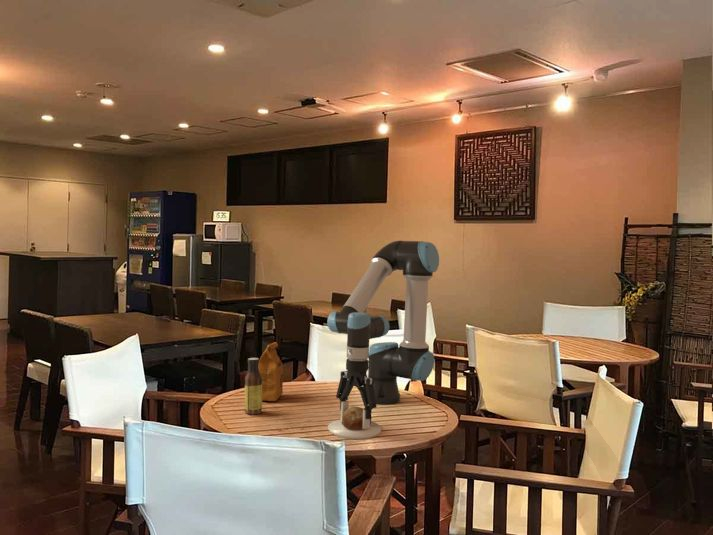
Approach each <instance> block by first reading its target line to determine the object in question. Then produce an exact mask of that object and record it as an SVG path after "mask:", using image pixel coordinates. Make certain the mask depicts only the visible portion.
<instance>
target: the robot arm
mask: <svg viewBox="0 0 713 535" xmlns="http://www.w3.org/2000/svg"><path fill="white" fill-rule="evenodd" d="M439 265H440V254H439V250H438V248H437V247H436V245H435V244H434V243H432V242H430V241H422V240H420V241H419V240H418V241H417V240H395V241H392V242H390V243H387V244H386V245H384V246H383V247H382V248H380V249H379V250H378V251H377V252H376V253H375V254H374V256H373V257H372V259H371V260H370V262H369V268H367V271H365V273H364V275H363V276H362V278H361V279H360V281H359V282H358V284H357V285H356V287H355V288H354V290H353V291H352V293H350V296H349V297H348V299H347V300H346V302H345V303H344V304H343V306H342V308H341V309H340V310H339V311H333V312H330V314H329V315H328V317H327V321H326V322H327V324H326V325H327V327H328V329H329V331H330V332H333V333H337V334H344V335H347V336H346V337H347V338H346V339H347V340H346V341H347V343H346V358H347V359H346V361H345V364H346V365H345V370H343V371H340V379H339V384H338V387H337V391H336V395H335V397H336V399H338V400H339V401H340V405H339V409H340V420H341V421H342V417H343V413H344V412H345V411H346V410H347V409H348V408H349V403H350V402H349V396H350V394H351V392H352V390H353V388H354V387H355V388H357V390H358V391H359V394H360V397H361V400H362V403H363V407H364V408H363V424H362V429H366V428H370V419H371V417H372V412H373V411H372V410H373V409H376V408H377V407H378V406H377V404H378V405H390V404H391V405H392V404H396V403H397V404H398V403H399V402H400V401H401V393H400V390H399V386H398V382H397V380H398V379H397V378H400V379H401V378H402V379H408V380H412V381H420V382H423V381H425V380H427V379H428V378H429V377H430V375H431V374H432V371H433V368H434V364H435V355H434V353H433V352H432V351H430V346H429V344H428V343H427V342H426V338H427V336H426V334H427V319H428V318H427V314H428V296H429V281H430V280H431V279H432V278H433V273H436V271H438V268H439ZM394 271H402V276H403V278H405V280H406V281H405V299H404V300H405V302H404V303H405V304H404V320H403V321H404V322H403V323H404V324H403V340H402V341H401V342H400V343H399V342H395V341H394V342H393V341H387V342H385V341H384V342H377V343H372V344H371V345H370V340H372V339H377V338H378V339H379V338H381V337H384V336H386V335H388V334H389V331H390V328H391V327H390V321H389V320H388V318H387V317H385V316H383V315H378V314H377V315H371V314H370V313H367V312H365V311H366V309H367V308H368V306H369V305H370V303H371V301H372V300H373V299H374V297H375V295H376V294H377V292H378V291H379V289H380V288H381V286H382V284H383V283H384V281H385V280H386V278H387V277H390V276H391V275H392V274H393V272H394ZM398 343H399V344H398ZM371 420H372V419H371Z"/></svg>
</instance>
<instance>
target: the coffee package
mask: <svg viewBox="0 0 713 535" xmlns="http://www.w3.org/2000/svg"><path fill="white" fill-rule="evenodd" d="M278 346H279V344H278V343H277V341H275V342H272V343H269V344H267V347H266V348H265V350H264V352H263V353H262V354H261V356H260V358H259V363H258V369H259V373H260V376H261V380H262V402H276V401H277V400H278V399H279V398H280V397H281V396H282V394H283V391H284V390H283V389H284V388H283V387H284V386H283V383H284V368H283V363H282V360H281V359H280V356H279V355H278V353H277V352H278V351H277V349H276V348H277V347H278Z"/></svg>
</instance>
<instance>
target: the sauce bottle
mask: <svg viewBox="0 0 713 535" xmlns="http://www.w3.org/2000/svg"><path fill="white" fill-rule="evenodd" d="M259 360H260V358H258V357H250V358H247V364H248V365H247V373H246V374H245V376H244V409H245V410H244V413H245V414H248V415H259V414H261V413H262V412H263V410H262V409H263V401H262V380H261V376H260V373H259V369H258V363H259Z"/></svg>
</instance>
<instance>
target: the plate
mask: <svg viewBox="0 0 713 535" xmlns="http://www.w3.org/2000/svg"><path fill="white" fill-rule="evenodd" d="M341 422H342V421H341V419H337V420H334V421H331V422H329V424H328V425H327V431H328V430H329V431H328V433H329V432H331V433H332V434H334V435H333V436H335V435H336V436H335V437H337V436H338V438H341V439H347V440H349V439H350V440H366V439H367V440H368V439H373V438H376V437H378V436H379V435H381V434H382V426H381V425H380V424H378V423H377V422H374V421H372V420H371V424H370V428H366V429H348V428H345V427H344V426H343V425H342V423H341ZM331 433H330V434H331ZM332 434H331V435H332Z"/></svg>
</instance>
